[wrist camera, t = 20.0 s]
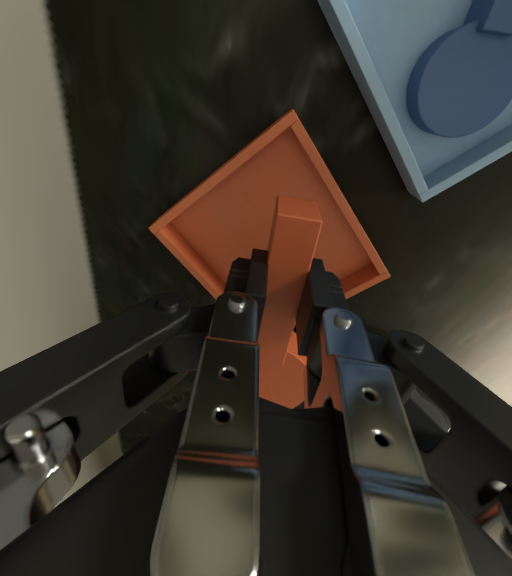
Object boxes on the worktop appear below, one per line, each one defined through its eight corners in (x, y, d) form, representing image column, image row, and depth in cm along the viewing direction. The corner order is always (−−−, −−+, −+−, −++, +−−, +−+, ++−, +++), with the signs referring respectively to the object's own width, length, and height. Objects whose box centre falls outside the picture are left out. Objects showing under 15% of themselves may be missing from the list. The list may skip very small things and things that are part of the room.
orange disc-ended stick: (232, 187, 12) (222, 204, 10) (360, 208, 12) (376, 229, 10) (213, 381, 18) (204, 417, 16) (297, 394, 18) (300, 431, 16)
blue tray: (310, -13, 16) (315, -30, 14) (587, -281, 11) (657, -366, 9) (408, 192, 21) (422, 203, 19) (623, 63, 17) (673, 58, 15)
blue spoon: (500, -187, 12) (543, -242, 10) (621, -163, 13) (686, -213, 10) (391, 127, 19) (405, 130, 17) (472, 141, 19) (495, 146, 17)
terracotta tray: (159, 216, 23) (147, 228, 21) (291, 107, 19) (293, 109, 17) (259, 326, 29) (258, 344, 26) (381, 261, 24) (391, 276, 22)
